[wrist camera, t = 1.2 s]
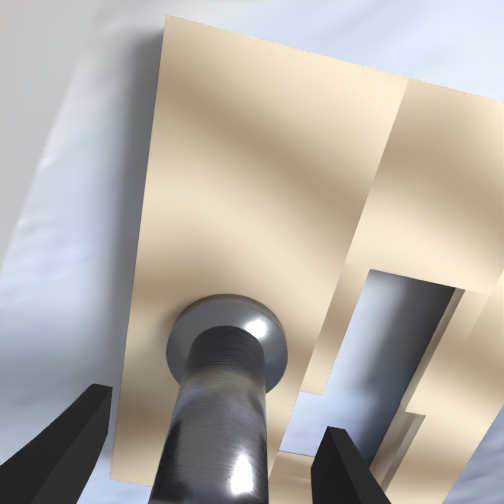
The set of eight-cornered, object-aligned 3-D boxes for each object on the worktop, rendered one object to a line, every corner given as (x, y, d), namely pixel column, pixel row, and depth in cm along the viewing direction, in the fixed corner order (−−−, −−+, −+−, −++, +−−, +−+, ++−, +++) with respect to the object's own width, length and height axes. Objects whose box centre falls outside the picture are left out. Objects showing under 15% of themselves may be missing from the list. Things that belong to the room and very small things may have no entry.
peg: (270, 399, 18) (279, 591, 11) (163, 379, 17) (99, 564, 10) (300, 307, 16) (334, 467, 9) (180, 282, 15) (116, 428, 8)
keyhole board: (409, 495, 23) (423, 532, 21) (122, 446, 22) (109, 479, 20) (612, 139, 15) (666, 144, 13) (178, 27, 14) (166, 14, 12)
